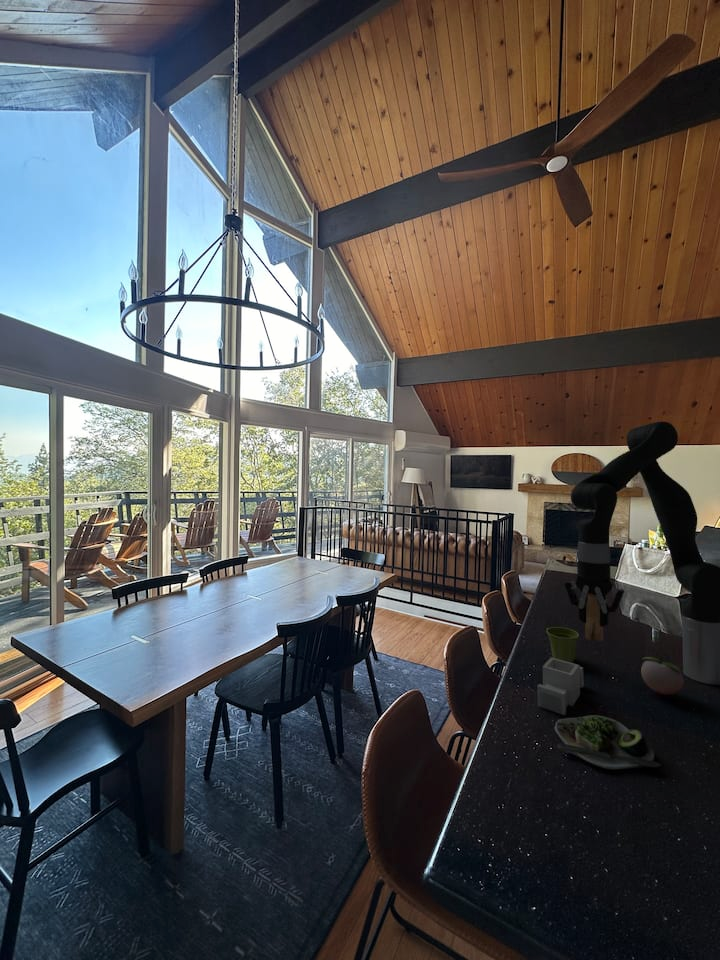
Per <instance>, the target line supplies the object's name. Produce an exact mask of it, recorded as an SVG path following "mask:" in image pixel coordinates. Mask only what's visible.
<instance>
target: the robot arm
mask: <svg viewBox="0 0 720 960" xmlns="http://www.w3.org/2000/svg"><path fill="white" fill-rule="evenodd" d="M678 441H679V436H678V431H677V429H676V427H675V426H674V425H673V424H672V423H670V422H668V421H664V420H663V421H656V422H652V423H649V424H645V425H640V426H638V427H635V428H631V429H630V430H628V432H627V435H626V444H627V448H628V450H627V451H625V452H623V453H622V454H620V455H618V456H617V457H615V458H613V459H612V460H610V461H609V462H608V463H607V464H606V465H605V466H604V467H603V468H602V469H600V470H599V472H596V473H594V474H592V475H589V476H588V477H586V478H585V479H583V480H581V481H580V482H578V483H576V485H574V487H573V488H572V489H571V493H570V501H571V503H572V504H573V506H574V507H575V508H577V509H580V510H586V511H587V510H589V511H594V513H593V515H592V517H591V518H590V517H589V518H583V519H581V520H579V522H578V526H577V527H578V528H577V530H578V532H577V533H578V534H577V535H578V537H577V538H578V542H577V548H576V549H577V550H576V551H577V553H576V558H577V561H576V563H577V565H576V566H577V568H576V569H577V571H576V572H577V577H576V579H575V580H574V581H571V580H568V581H566V582H565V583H564V586H565V589H566V592H567V595H568V598H569V601H570V603H571V605H572V606H575V607H577V608H578V619H579V621H581V623H582V624H585V601H586V597H587V593H591V594H597V598H598V601H599V604H600V606H601V609H602V613H601V627H603V628H605V627H606V626H608V625H609V623H610V613H616V612H617V610H618V608H619V606H620V604H621V602H622V599H623V597H624V595H625V590H624V589H623V588H617V587H615V586H614V585H613V583H612V581H611V549H610V527H611V522H612V519H613V515H614V512H615V509H616V507H617V504H618V494H617V493H619V492H620V491H621V490H623V488H625V487H626V486H627V484H629V482H630V481H632V480H633V479H634V478H635V477H636V476H637V475H638V474H639V473H640V475H641V477H642V480H643V482H644V484H645V485H644V486H645V488H646V490H647V493H648V495H649V498H650V501H651V503H652V508H653V510H654V513H655V515H656V518H657V520H658V522H659V525H660V528H661V531H662V533H663V536H664V537H663V538H664V539H665V542H666V545H667V547H668V550H669V555H670V558H671V559H670V560H671V562H672V566H673V567H672V568H673V571H674V576H675V578H676V580H677V581H678V583H679V584H680V585H681V586H682V587H683V588H684V589H687V590H688V591H690V602H686V603H684V604H683V605H682V608H681V615H682V616H681V617H682V618H681V619H682V620H681V621H682V622H681V623H682V624H681V625H682V628H681V629H682V662H683V663H682V673H683V674H684V676H686V677H688V678H689V679H691V680H693V681H696V682H699V683H703V684H707V685H713V686H714V685H715V686H717V685H718V686H720V566H718V565H715V564H713V563H709V562H706V561H705V560H704V559H703V557H702V555H701V552H700V550H699V548H698V545H697V540H696V532H697V527H698V513H697V511H696V507H695V505H694V503H693V502H694V501H693V499H692V496H691V495H690V493H689V492H688V491H687V489H686V488H685V487H684V486H683V485H681V484H680V483H679V482H677V481H676V480H675V479H673V478H672V477H671V476H669V475H668V474H667V473H666V471H664V470H663V468H662V467H661V466H660V464H659V462H658V461H657V460H658V459H660V458H661V457H663V456H664V455H667V454H669V453H670V452H671V451H672V450H673V449H675V447H676V446H677V444H678ZM576 588H578V590H579V591H580V592H581V596H580V598H579V599H578V597H577V593H576V591H575V589H576ZM609 592H612V596H613V597H614V599H613V601H612V604H611V605H610V606H609V604H608V603H609V602H608V599H607V595H608V594H609Z"/></svg>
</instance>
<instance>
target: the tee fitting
mask: <svg viewBox="0 0 720 960" xmlns="http://www.w3.org/2000/svg"><path fill="white" fill-rule="evenodd" d="M536 687H537V690H536V691H537V707H540V708H543V709H545V710H549V711H551V712H554V713H556V714H557V713H558V714H559V715H563V716H566V714H567V707H568V706H570V707H573V706H574V705H575V703H576V701H577V700H578V699H579V697H580V695H581V689H583V688H584V667H582V666H580V664H576V663H573V662H566V661H563V660H559V659H555V658H553V657H550V658H549V659H548V660H547V661H546V662H545V663H544V664H543V666H542V684H540V683H539V684H537V686H536Z"/></svg>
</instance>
